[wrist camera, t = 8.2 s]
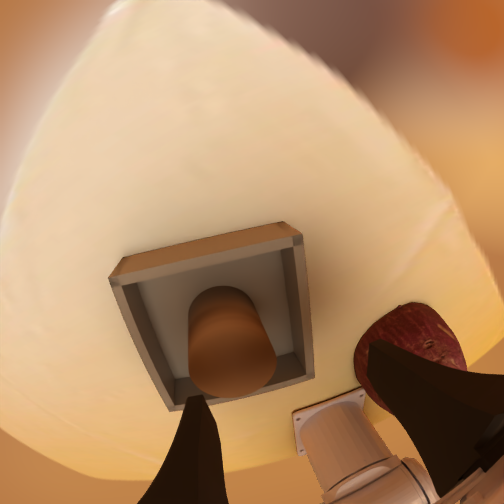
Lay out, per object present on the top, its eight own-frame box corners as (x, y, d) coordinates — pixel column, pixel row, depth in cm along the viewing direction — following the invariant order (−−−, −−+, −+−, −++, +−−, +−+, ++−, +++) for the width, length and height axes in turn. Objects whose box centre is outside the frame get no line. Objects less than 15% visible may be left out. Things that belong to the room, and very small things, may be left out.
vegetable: (366, 375, 29) (404, 483, 17) (328, 341, 24) (376, 493, 12) (439, 326, 26) (497, 429, 14) (423, 276, 21) (512, 413, 9)
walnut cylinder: (259, 336, 20) (279, 387, 15) (196, 348, 19) (200, 404, 14) (251, 279, 18) (273, 322, 13) (181, 292, 18) (177, 340, 12)
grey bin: (299, 350, 22) (314, 377, 18) (170, 380, 20) (169, 411, 17) (283, 221, 18) (302, 233, 15) (122, 257, 17) (108, 277, 14)
